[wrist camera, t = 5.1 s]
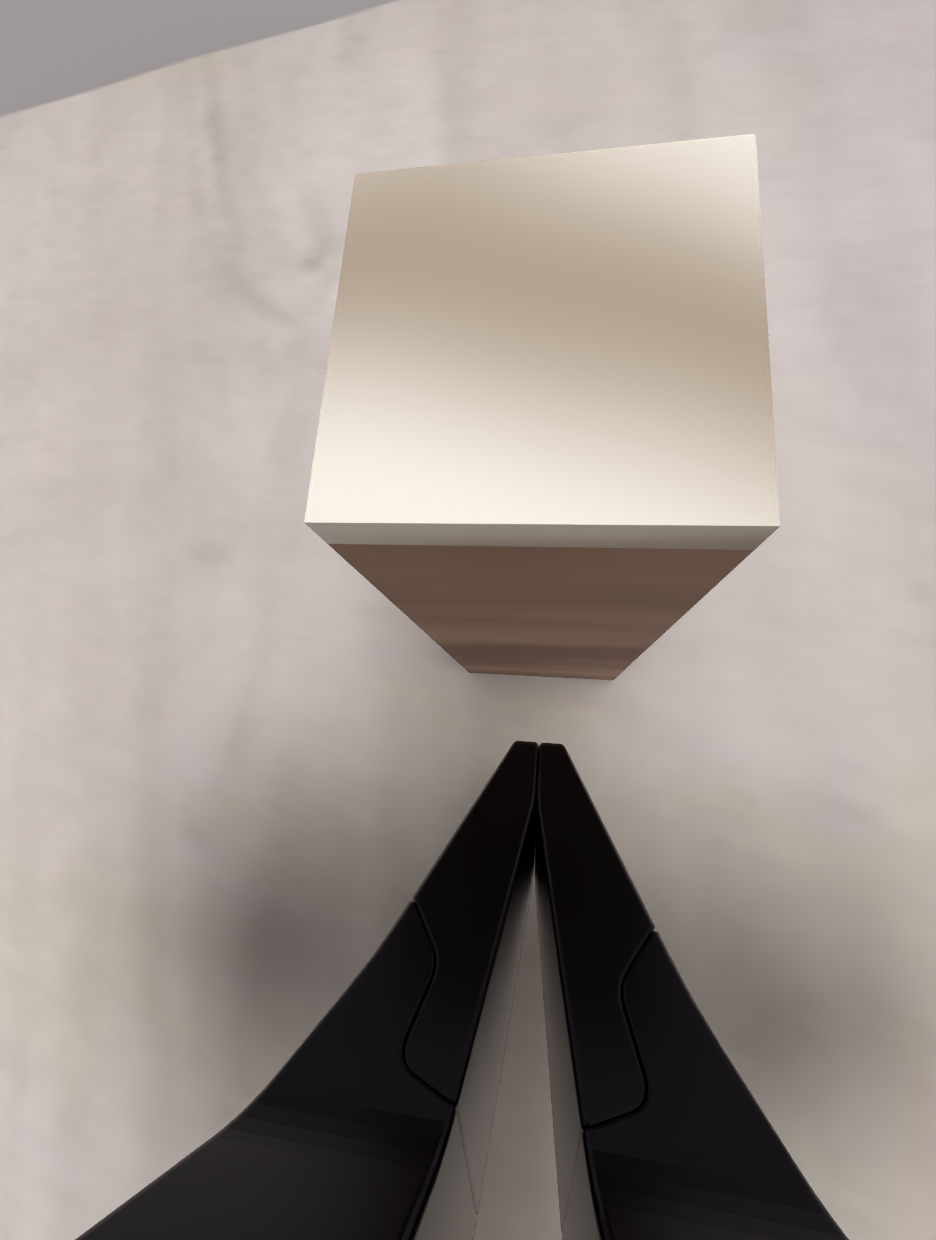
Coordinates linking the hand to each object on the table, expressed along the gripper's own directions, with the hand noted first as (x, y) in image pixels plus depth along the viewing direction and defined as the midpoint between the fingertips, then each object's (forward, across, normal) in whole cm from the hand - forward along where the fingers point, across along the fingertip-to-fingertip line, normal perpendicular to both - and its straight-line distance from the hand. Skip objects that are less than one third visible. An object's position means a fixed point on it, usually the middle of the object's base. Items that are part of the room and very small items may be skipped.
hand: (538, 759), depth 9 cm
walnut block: (+8, 0, +2) cm, 9 cm away
